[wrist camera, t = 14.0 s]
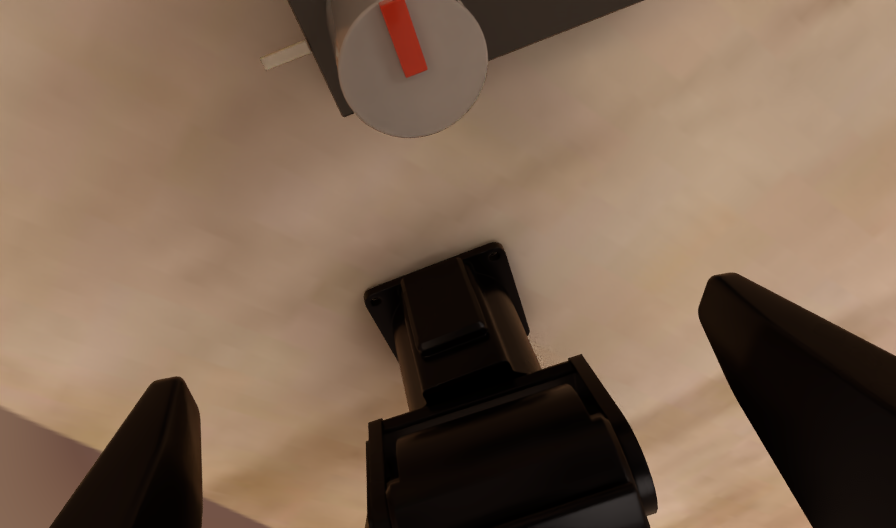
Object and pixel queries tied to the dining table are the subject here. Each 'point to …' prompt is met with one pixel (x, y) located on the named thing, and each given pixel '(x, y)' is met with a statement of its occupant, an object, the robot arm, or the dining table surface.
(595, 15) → the hob
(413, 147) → the dining table surface
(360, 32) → the hob knob
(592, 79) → the dining table surface
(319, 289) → the dining table surface
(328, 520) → the dining table surface
